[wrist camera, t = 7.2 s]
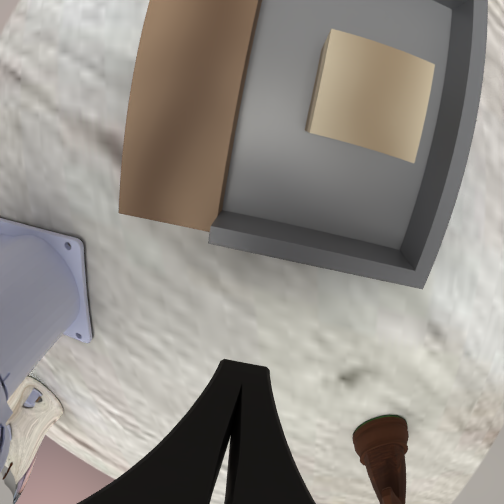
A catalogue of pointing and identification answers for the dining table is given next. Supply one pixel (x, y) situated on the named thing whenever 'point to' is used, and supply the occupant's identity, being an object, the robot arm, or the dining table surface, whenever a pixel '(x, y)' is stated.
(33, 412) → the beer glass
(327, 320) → the dining table surface
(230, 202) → the box
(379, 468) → the chess piece
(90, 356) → the dining table surface
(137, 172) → the walnut board
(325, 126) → the birch block
